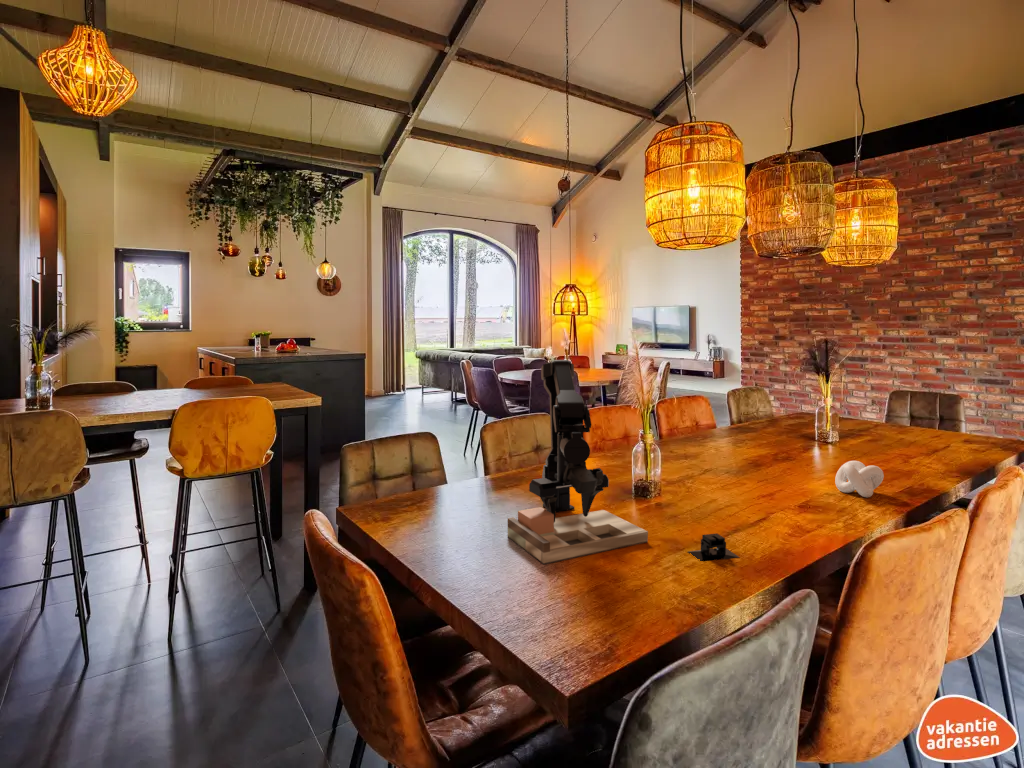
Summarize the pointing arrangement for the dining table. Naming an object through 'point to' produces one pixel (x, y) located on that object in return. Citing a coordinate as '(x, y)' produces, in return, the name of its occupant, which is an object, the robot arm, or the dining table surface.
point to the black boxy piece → (716, 553)
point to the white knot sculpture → (858, 478)
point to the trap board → (577, 536)
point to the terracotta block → (537, 520)
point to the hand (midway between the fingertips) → (569, 519)
